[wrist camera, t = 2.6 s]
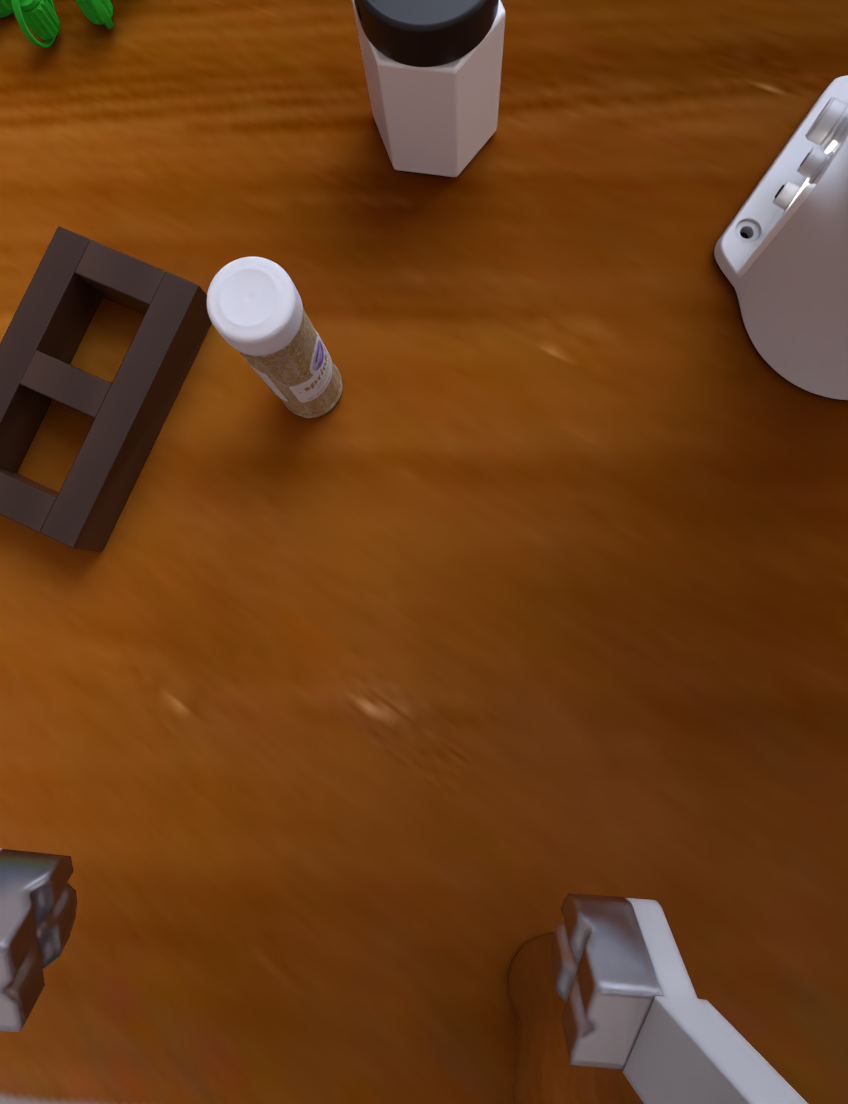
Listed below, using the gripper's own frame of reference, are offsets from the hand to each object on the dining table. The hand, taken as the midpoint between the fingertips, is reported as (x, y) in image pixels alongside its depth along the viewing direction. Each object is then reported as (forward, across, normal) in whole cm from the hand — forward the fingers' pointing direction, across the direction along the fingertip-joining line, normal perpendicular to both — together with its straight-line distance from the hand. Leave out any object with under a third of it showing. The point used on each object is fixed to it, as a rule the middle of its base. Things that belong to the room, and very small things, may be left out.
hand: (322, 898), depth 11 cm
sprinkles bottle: (+39, +6, -1) cm, 39 cm away
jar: (+47, -1, -19) cm, 51 cm away
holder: (+39, +21, +2) cm, 45 cm away
